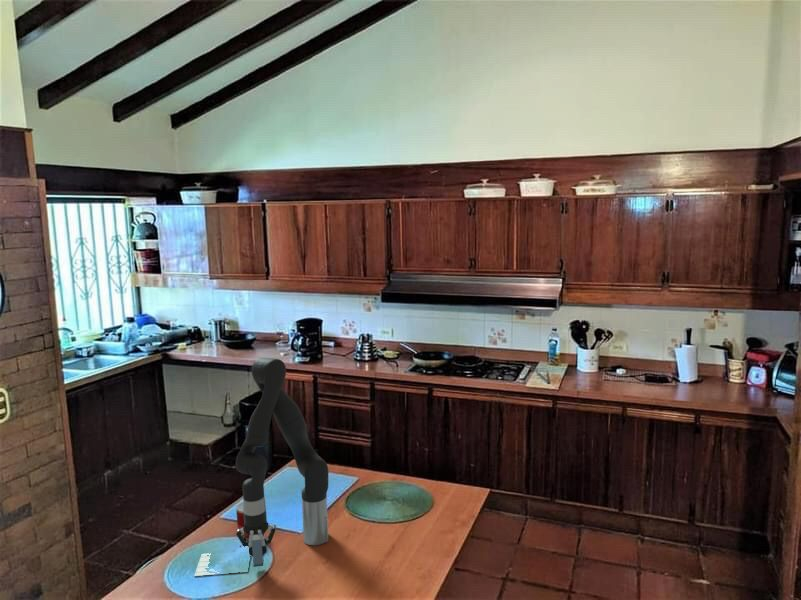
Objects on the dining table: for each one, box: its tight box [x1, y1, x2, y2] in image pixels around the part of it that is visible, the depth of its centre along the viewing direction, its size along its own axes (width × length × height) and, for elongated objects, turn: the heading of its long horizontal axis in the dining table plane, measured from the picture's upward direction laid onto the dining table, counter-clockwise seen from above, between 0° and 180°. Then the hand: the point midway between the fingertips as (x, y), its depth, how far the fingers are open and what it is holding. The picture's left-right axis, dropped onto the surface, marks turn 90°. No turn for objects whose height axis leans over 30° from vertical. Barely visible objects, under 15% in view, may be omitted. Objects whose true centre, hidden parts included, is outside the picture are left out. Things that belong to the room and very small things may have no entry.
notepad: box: [193, 552, 219, 578], centre depth 213 cm, size 18×13×1 cm
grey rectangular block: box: [251, 534, 265, 568], centre depth 208 cm, size 3×3×12 cm
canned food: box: [235, 502, 249, 539], centre depth 232 cm, size 8×8×11 cm
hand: (258, 554), depth 209 cm, fingers closed on grey rectangular block, 3 cm apart
